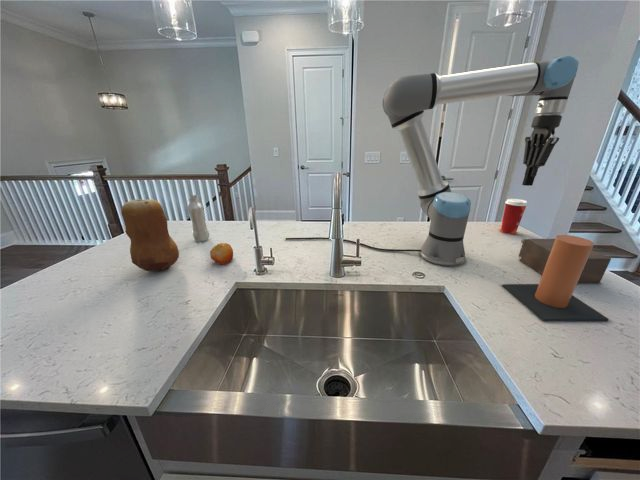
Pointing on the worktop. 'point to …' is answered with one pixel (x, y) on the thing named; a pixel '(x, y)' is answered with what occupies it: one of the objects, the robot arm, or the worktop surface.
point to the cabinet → (540, 250)
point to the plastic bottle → (197, 219)
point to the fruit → (222, 253)
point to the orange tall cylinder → (563, 270)
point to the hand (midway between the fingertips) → (527, 185)
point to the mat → (548, 313)
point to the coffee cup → (512, 215)
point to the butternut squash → (149, 235)
